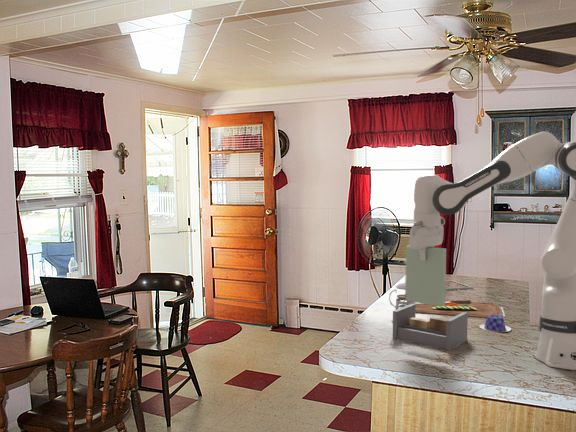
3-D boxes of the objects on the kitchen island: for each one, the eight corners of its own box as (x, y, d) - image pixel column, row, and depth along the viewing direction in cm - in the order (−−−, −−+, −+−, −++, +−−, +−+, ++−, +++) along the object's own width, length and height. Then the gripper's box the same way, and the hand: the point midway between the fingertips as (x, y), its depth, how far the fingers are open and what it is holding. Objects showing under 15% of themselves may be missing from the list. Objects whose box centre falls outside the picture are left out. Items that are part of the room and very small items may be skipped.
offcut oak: (429, 337, 201) (430, 320, 201) (426, 339, 200) (427, 321, 199) (412, 334, 206) (412, 317, 205) (409, 335, 204) (409, 318, 204)
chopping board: (398, 313, 246) (398, 306, 246) (404, 300, 272) (404, 294, 271) (506, 320, 233) (506, 313, 233) (501, 306, 258) (502, 300, 258)
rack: (467, 343, 199) (467, 312, 198) (450, 354, 187) (450, 321, 187) (411, 332, 213) (412, 303, 212) (392, 342, 202) (392, 311, 201)
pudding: (488, 334, 212) (489, 321, 212) (473, 326, 224) (473, 313, 223) (517, 333, 214) (518, 319, 213) (500, 324, 226) (501, 312, 225)
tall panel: (445, 305, 192) (446, 248, 191) (442, 306, 191) (443, 249, 189) (408, 299, 201) (409, 245, 200) (405, 300, 199) (406, 246, 198)
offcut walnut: (450, 342, 196) (451, 320, 196) (447, 343, 194) (448, 321, 194) (432, 338, 201) (432, 316, 200) (429, 339, 199) (429, 318, 198)
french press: (417, 322, 229) (418, 262, 227) (388, 320, 231) (389, 261, 229) (416, 316, 238) (417, 259, 237) (389, 315, 241) (389, 258, 239)
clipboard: (410, 283, 307) (457, 280, 315) (410, 285, 307) (457, 283, 315) (427, 289, 288) (477, 286, 297) (427, 293, 289) (477, 289, 297)
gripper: (421, 223, 184) (420, 264, 185) (446, 219, 200) (446, 257, 201) (404, 222, 188) (404, 262, 189) (430, 218, 204) (430, 255, 205)
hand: (425, 259), depth 195 cm, fingers closed on tall panel, 2 cm apart
